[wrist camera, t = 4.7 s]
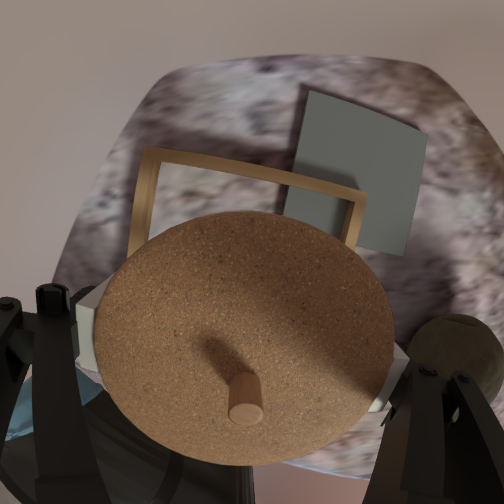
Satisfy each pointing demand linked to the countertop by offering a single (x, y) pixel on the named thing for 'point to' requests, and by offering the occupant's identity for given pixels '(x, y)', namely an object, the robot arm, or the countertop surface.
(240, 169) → the pocket frame
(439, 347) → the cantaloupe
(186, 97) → the countertop surface
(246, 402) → the lidded jar
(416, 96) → the countertop surface
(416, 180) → the trivet
